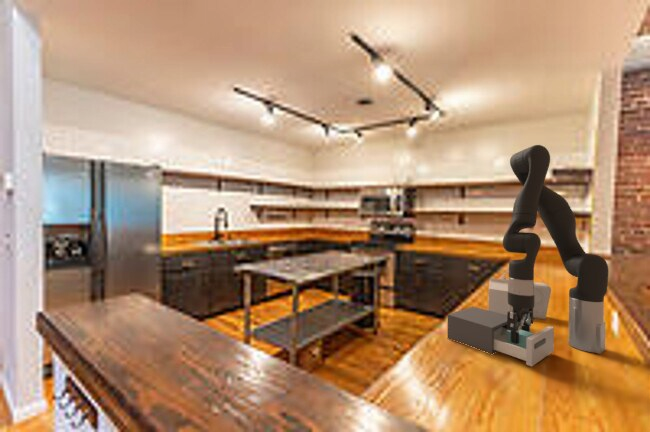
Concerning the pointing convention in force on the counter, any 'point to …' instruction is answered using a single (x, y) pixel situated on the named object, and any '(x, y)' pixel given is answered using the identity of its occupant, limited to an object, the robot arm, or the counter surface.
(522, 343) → the block
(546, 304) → the radio
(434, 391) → the counter surface
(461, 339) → the cabinet
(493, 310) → the milk carton
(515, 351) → the drawer
